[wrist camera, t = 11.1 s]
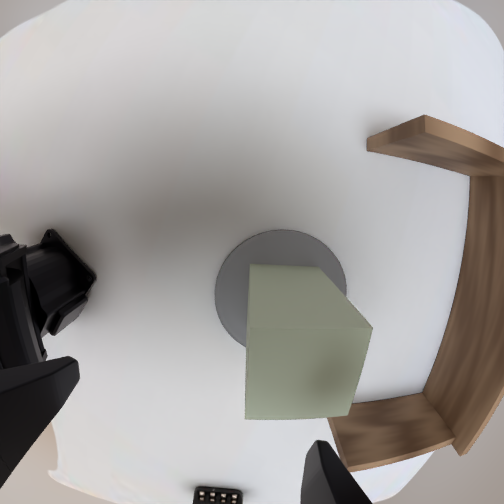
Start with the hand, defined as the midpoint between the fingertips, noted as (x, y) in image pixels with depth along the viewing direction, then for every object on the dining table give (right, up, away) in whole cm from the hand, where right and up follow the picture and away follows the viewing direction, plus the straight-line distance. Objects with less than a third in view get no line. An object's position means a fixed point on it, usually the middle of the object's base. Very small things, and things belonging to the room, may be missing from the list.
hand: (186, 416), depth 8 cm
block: (+4, +2, +13) cm, 14 cm away
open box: (+16, +2, +13) cm, 21 cm away
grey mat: (+4, +2, +13) cm, 14 cm away
